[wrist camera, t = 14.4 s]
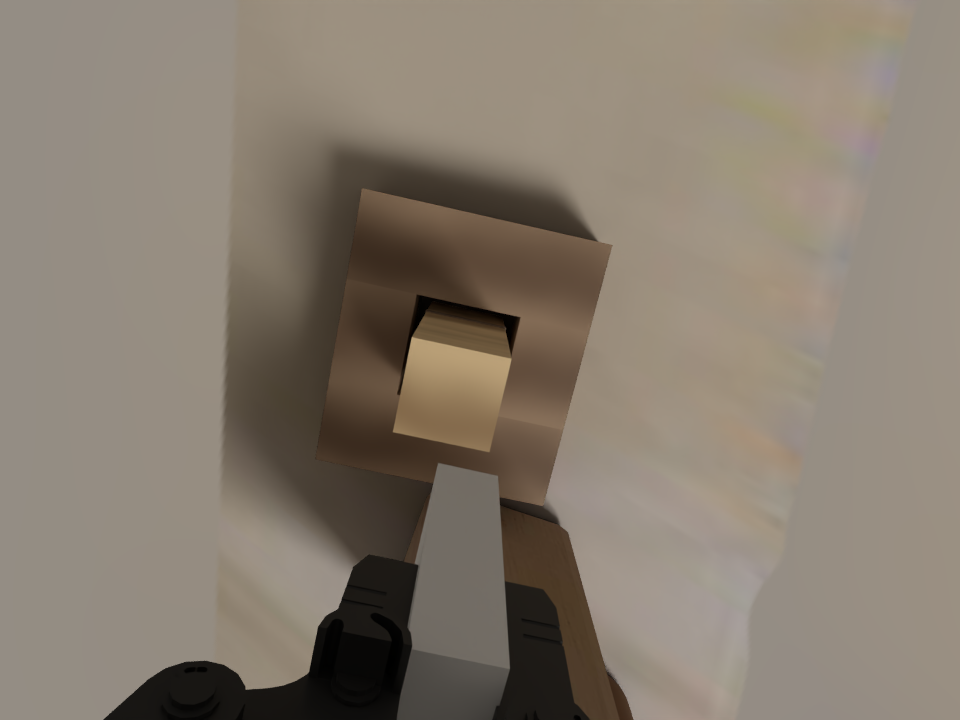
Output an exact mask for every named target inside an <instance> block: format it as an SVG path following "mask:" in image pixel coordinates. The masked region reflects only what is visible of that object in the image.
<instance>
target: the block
mask: <svg viewBox="0 0 960 720" xmlns="http://www.w3.org/2000/svg"><path fill="white" fill-rule="evenodd" d="M430 496H431V493H430V494H429V495H428V496H427V498H426V501H425V503H424V506H423V509H422V512H421V514H420V517H419V520H418V523H417V525H416V528H415V531H414V534H413V537H412V539H411V542H410V545H409V548H408V550H407V553H406V556H405V559H404V562H407V563H412V564H415V560H416V556H417V551H418V547H419V543H420V539H421V534H422V530H423V526H424V522H425V517H426V513H427V509H428V504H429V500H430ZM500 516H501V532H502V549H503V565H504V581H507V582H511V583H516V584H521V585H526V586H530V587H535V588H540V589H543V590H544V591H545V592H546V594H547V595H548V596H549V598H550V599H551V601H552V602H553V603H554V605H555V606H556V608H557V613H558V619H559V624H560V630H561V634H562V640H563V644H562V646H564V650H565V656H566V661H567V666H568V671H569V677H570V682H571V687H572V693H573V698H574V703H575V704H577V705H578V706H579V707H580V708H581V709H582V711H583V712H584V713H585V714H586V715H587V716H588V717H589V719H590V720H620V719H619V716H618V712H617V708H616V705H615V701H614V698H613V694H612V690H611V687H610V683H609V679H608V676H607V672H606V669H605V665H604V661H603V658H602V654H601V651H600V647H599V643H598V640H597V636H596V632H595V629H594V625H593V622H592V618H591V614H590V611H589V607H588V603H587V600H586V596H585V593H584V589H583V585H582V582H581V578H580V574H579V571H578V567H577V564H576V560H575V556H574V553H573V549H572V545H571V542H570V538H569V535H568V532H567V531H566V530H564V529H563V528H562V527H561V526H560V525H557V524H555V523H552V522H549V521H545V520H542V519H539V518H536V517H533V516H530V515H527V514H524V513H521V512H518V511H515V510H512V509H509V508H506V507H503V506H500Z"/></svg>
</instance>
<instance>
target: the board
mask: <svg viewBox="0 0 960 720" xmlns="http://www.w3.org/2000/svg"><path fill="white" fill-rule="evenodd" d="M611 248H612V245H609V244H605V243H601V242H596V241H592V240H588V239H583V238H579V237H574V236H570V235H566V234H561V233H557V232H552V231H548V230H544V229H539V228H535V227H531V226H526V225H522V224H517V223H513V222H509V221H504V220H500V219H495V218H491V217H487V216H482V215H478V214H473V213H469V212H465V211H460V210H456V209H452V208H447V207H443V206H438V205H434V204H430V203H425V202H421V201H416V200H412V199H408V198H403V197H399V196H395V195H390V194H386V193H381V192H377V191H373V190H368V189H364V188H362V191H361V197H360V203H359V209H358V214H357V220H356V226H355V232H354V238H353V243H352V249H351V255H350V261H349V267H348V272H347V278H346V284H345V290H344V296H343V301H342V307H341V313H340V319H339V325H338V330H337V336H336V342H335V348H334V354H333V359H332V365H331V371H330V377H329V383H328V388H327V394H326V400H325V406H324V412H323V417H322V423H321V429H320V435H319V441H318V446H317V452H316V458H315V459H317V460H321V461H326V462H331V463H336V464H341V465H346V466H351V467H355V468H360V469H365V470H370V471H375V472H380V473H385V474H389V475H394V476H399V477H404V478H409V479H414V480H419V481H423V482H428V483H434V479H435V474H436V470H437V466H438V463H441V464H445V465H450V466H455V467H459V468H464V469H468V470H473V471H477V472H482V473H487V474H491V475H496V476H498V484H499V497H501V498H506V499H511V500H516V501H521V502H525V503H530V504H535V505H540V506H543V504H544V500H545V496H546V493H547V489H548V485H549V481H550V478H551V474H552V470H553V466H554V463H555V459H556V455H557V451H558V448H559V444H560V440H561V436H562V433H563V429H564V425H565V421H566V417H567V414H568V410H569V406H570V402H571V399H572V395H573V391H574V387H575V384H576V380H577V376H578V372H579V369H580V365H581V361H582V357H583V354H584V350H585V346H586V342H587V339H588V335H589V331H590V327H591V323H592V320H593V316H594V312H595V308H596V305H597V301H598V297H599V293H600V290H601V286H602V282H603V278H604V275H605V271H606V267H607V263H608V260H609V256H610V252H611ZM421 295H422V296H427V297H431V298H436V299H440V300H445V301H449V302H454V303H458V304H463V305H468V306H472V307H477V308H481V309H486V310H490V311H495V312H499V313H504V314H508V315H513V316H515V317H514V321H513V325H512V329H511V333H510V338H509V342H508V344H509V349H510V353H511V358H512V360H511V364H510V368H509V372H508V377H507V381H506V385H505V389H504V393H503V397H502V402H501V406H500V410H499V414H498V418H497V423H496V427H495V431H494V435H493V439H492V443H491V448H490V452H486V451H481V450H476V449H471V448H467V447H462V446H457V445H452V444H447V443H443V442H438V441H433V440H428V439H423V438H419V437H414V436H409V435H404V434H400V433H395V432H393V429H394V424H395V419H396V414H397V409H398V404H399V399H400V394H401V389H402V384H403V379H404V374H405V369H406V364H407V359H408V354H409V349H410V344H411V339H412V336H413V334H414V330H415V325H416V320H417V315H418V310H419V305H420V300H421Z"/></svg>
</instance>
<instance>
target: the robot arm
mask: <svg viewBox="0 0 960 720" xmlns="http://www.w3.org/2000/svg"><path fill="white" fill-rule="evenodd" d="M562 644H563V640H562V634H561V630H560V624H559V619H558V613H557V608H556V606H555V605H554V603H553V602H552V601H551V599H550V598H549V596H548V595H547V594H546V592H545V591H544V590H543V589H540V588H535V587H530V586H526V585H521V584H516V583H511V582H507V581H504V565H503V549H502V532H501V516H500V500H499V484H498V476H496V475H491V474H487V473H482V472H477V471H473V470H468V469H464V468H459V467H455V466H450V465H445V464H441V463H438V466H437V470H436V474H435V479H434V483H433V487H432V492H431V496H430V500H429V504H428V509H427V513H426V517H425V522H424V526H423V530H422V534H421V539H420V543H419V547H418V551H417V556H416V560H415V564H412V563H407V562H402V561H398V560H393V559H388V558H383V557H379V556H374V555H368V556H367V557H365V558H364V559H363V560H362V561H360V562H359V563H358V564H357V565H355V566H354V567H353V570H352V572H351V575H350V578H349V581H348V583H347V587H346V589H345V592H344V594H343V597H342V601H341V603H340V605H339V608H338V609H337V610H336V611H334V612H332V613H330V614H328V615H327V616H326V617H325V618H324V619H323V621H322V622H321V624H320V625H319V626H318V630H317V635H316V640H315V645H314V650H313V655H312V661H311V666H310V671H309V673H308V674H307V675H305V676H304V677H302V678H300V679H299V680H297V681H295V682H292V683H289V684H287V685H284V686H279V687H273V688H265V689H251V690H245V685H244V684H243V682H242V680H241V678H240V677H239V675H238V674H237V673H236V672H234V671H233V670H231V669H229V668H228V667H226V666H225V665H222V664H217V663H213V662H209V661H194V662H184V663H181V664H178V665H175V666H171V667H168V668H165V669H164V670H162V671H160V672H159V673H157V674H156V675H154V676H153V677H151V678H150V679H148V680H147V681H146V682H145V683H144V684H143V685H141V686H140V687H139V688H138V689H137V690H136V691H135V692H134V693H133V694H132V695H130V696H129V697H128V698H127V699H126V700H125V701H124V702H123V703H121V705H119V706H118V707H117V708H116V709H115V710H114V711H112V713H110V714H109V715H108V716H107V717H106V718H105V719H104V720H590V719H589V717H588V716H587V715H586V714H585V713H584V712H583V711H582V709H581V708H580V707H579V706H578V705H577V704H575V703H574V698H573V693H572V687H571V682H570V677H569V671H568V666H567V661H566V656H565V650H564V646H562Z"/></svg>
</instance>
